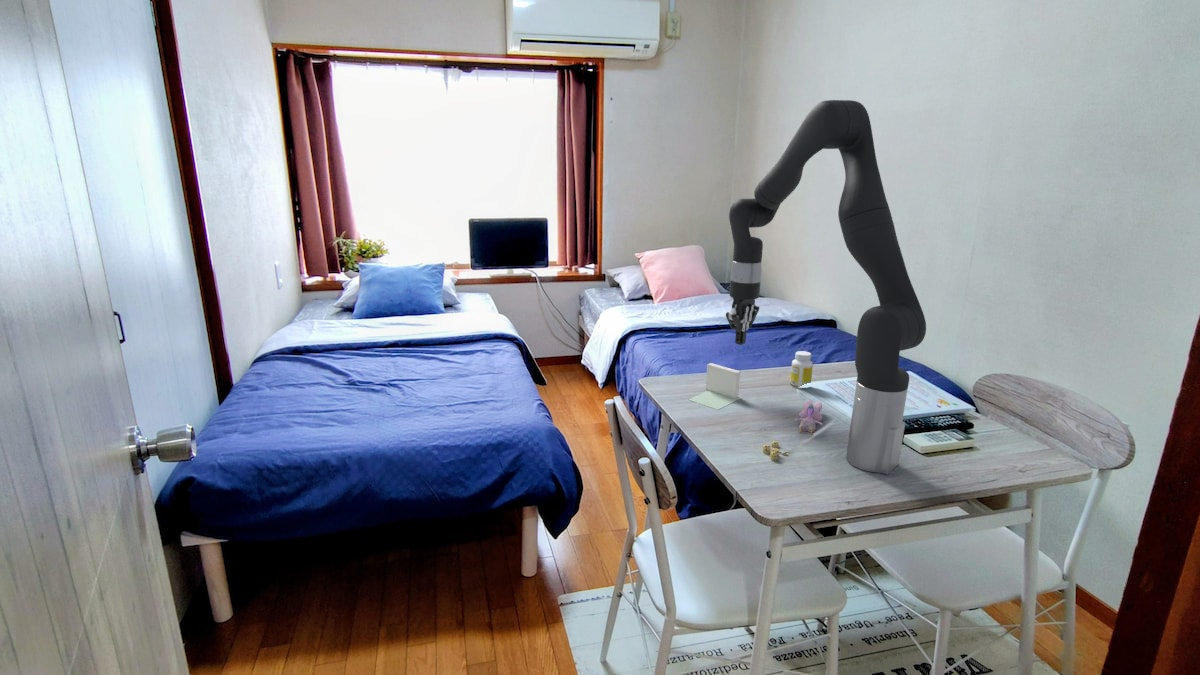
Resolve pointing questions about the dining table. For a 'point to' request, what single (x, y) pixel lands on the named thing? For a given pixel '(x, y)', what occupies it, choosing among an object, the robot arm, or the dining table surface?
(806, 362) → the supplement bottle
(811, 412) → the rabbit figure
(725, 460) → the dining table surface
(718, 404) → the mat
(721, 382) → the tile
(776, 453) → the yellow speckled pebbles
